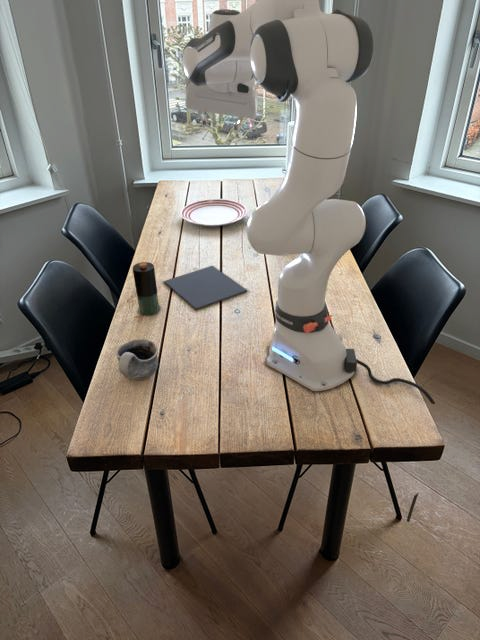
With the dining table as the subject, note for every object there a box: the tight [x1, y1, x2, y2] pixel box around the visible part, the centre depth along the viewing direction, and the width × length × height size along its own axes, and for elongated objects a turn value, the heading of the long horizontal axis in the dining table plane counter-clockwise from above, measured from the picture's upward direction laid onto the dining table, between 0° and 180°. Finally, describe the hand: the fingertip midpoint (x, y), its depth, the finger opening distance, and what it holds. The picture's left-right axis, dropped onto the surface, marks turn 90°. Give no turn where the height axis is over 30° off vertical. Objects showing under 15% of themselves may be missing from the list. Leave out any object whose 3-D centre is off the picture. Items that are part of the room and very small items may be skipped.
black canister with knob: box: [132, 261, 158, 297], centre depth 132 cm, size 6×6×10 cm
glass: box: [136, 292, 160, 316], centre depth 135 cm, size 6×6×6 cm
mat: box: [163, 265, 248, 311], centre depth 148 cm, size 20×18×1 cm
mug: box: [115, 338, 159, 381], centre depth 109 cm, size 10×12×10 cm
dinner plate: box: [180, 198, 248, 227], centre depth 195 cm, size 27×27×3 cm
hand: (220, 127), depth 137 cm, fingers open, 8 cm apart
